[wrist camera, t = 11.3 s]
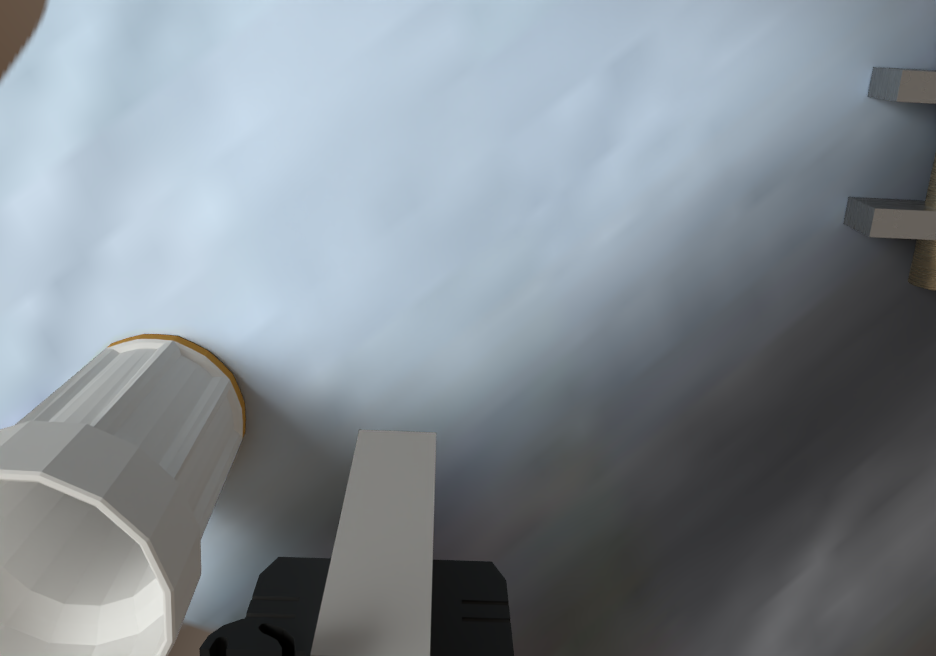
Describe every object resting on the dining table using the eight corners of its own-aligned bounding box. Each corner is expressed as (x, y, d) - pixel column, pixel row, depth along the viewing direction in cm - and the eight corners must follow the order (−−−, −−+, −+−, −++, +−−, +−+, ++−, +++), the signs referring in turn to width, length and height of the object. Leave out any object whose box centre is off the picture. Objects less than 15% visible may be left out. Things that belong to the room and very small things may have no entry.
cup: (85, 513, 51) (-88, 748, 34) (33, 325, 47) (-190, 488, 31) (283, 491, 51) (204, 717, 34) (245, 301, 47) (136, 452, 30)
